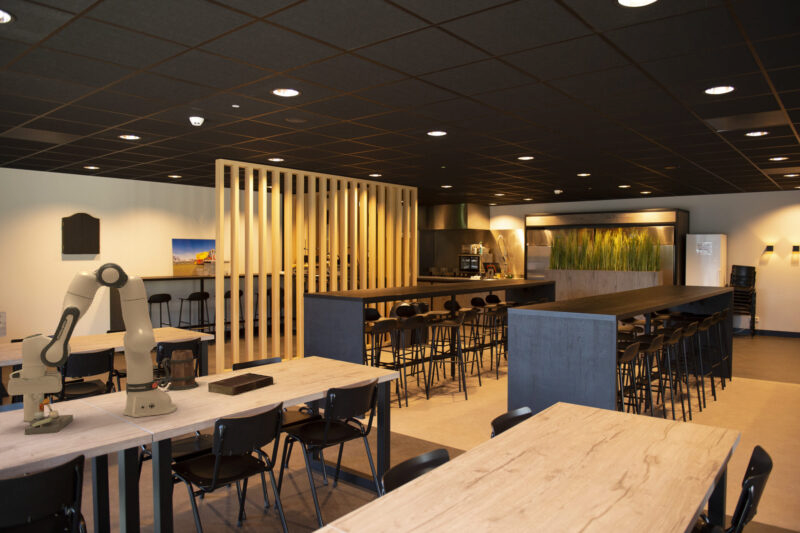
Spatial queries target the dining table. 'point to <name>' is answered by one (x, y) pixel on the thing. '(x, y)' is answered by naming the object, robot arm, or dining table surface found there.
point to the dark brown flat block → (240, 384)
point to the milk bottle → (32, 407)
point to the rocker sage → (42, 422)
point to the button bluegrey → (39, 415)
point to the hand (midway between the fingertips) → (36, 403)
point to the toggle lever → (47, 403)
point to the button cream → (53, 414)
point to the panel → (49, 425)
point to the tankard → (179, 371)
